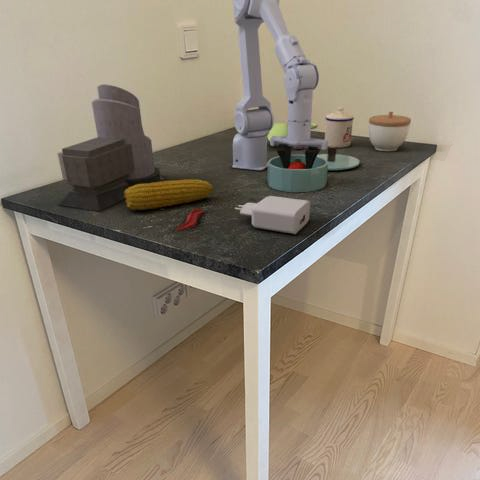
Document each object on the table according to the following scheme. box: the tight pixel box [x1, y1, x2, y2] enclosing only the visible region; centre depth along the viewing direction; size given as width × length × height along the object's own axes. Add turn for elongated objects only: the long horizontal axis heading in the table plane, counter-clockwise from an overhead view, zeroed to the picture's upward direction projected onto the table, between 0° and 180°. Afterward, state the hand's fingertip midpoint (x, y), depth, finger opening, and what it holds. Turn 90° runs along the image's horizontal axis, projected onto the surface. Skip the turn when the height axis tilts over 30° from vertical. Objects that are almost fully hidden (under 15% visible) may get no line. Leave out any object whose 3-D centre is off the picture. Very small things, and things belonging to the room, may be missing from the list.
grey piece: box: [57, 83, 166, 212], centre depth 117 cm, size 30×16×24 cm, turn 156°
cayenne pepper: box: [175, 208, 205, 231], centre depth 103 cm, size 12×5×2 cm, turn 148°
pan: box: [267, 154, 329, 193], centre depth 124 cm, size 15×15×6 cm
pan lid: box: [317, 146, 361, 172], centre depth 139 cm, size 16×16×5 cm
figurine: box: [267, 122, 319, 150], centre depth 163 cm, size 18×27×6 cm
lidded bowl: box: [368, 111, 412, 152], centre depth 152 cm, size 13×13×11 cm
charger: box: [234, 195, 311, 235], centre depth 100 cm, size 5×9×15 cm
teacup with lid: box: [324, 106, 355, 149], centre depth 158 cm, size 12×9×12 cm
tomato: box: [288, 159, 306, 169], centre depth 123 cm, size 5×5×6 cm
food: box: [124, 178, 214, 211], centre depth 111 cm, size 21×6×6 cm, turn 118°
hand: (297, 175), depth 124 cm, fingers closed on tomato, 5 cm apart
